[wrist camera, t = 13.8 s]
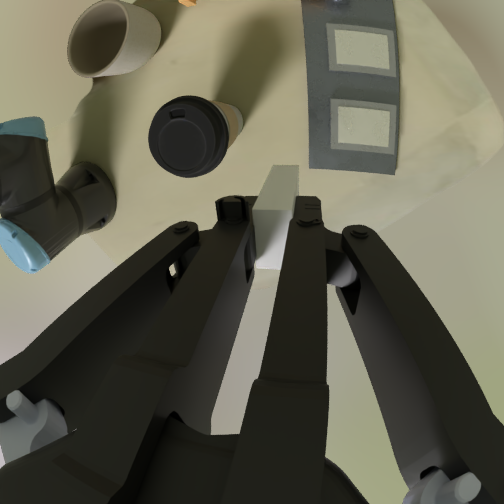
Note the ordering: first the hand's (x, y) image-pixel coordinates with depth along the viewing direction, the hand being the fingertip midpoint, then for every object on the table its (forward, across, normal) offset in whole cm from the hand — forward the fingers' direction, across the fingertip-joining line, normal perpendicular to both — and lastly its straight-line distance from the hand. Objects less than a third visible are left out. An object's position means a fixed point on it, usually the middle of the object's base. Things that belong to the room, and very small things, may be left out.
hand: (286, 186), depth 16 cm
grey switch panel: (+25, +8, +10) cm, 28 cm away
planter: (+26, -25, +19) cm, 41 cm away
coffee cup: (+26, -11, +2) cm, 28 cm away
